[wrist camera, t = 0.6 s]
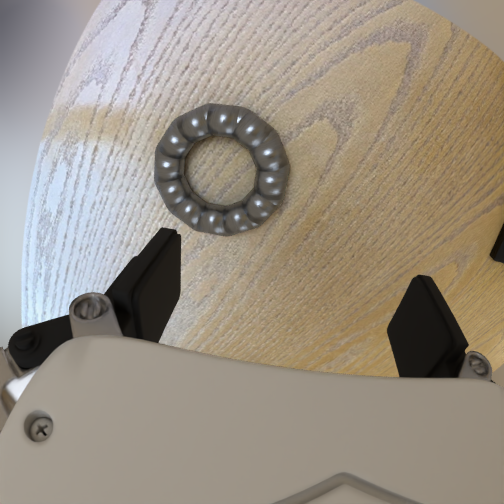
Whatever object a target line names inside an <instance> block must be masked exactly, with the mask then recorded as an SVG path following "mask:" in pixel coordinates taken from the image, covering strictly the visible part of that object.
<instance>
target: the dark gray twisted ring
mask: <svg viewBox="0 0 504 504" xmlns="http://www.w3.org/2000/svg"><path fill="white" fill-rule="evenodd" d="M212 135H214V136H222V137H229V138H233V139H235V140H236V141H237V142H238V143H240V144H241V145H242V146H244V147H245V148H246V149H248V150H249V151H250V154H251V156H252V159H253V161H254V164H255V166H256V169H257V171H256V177H255V184H254V188H253V189H252V190H251V191H250V192H249V194H248V195H247V196H246V197H245V198H244V199H243V201H240V202H237V203H234V204H231V205H228V206H221V205H215V204H209V203H206V202H205V201H204V200H202V199H201V198H200V197H198V196H197V195H196V194H194V193H193V192H192V191H191V189H190V187H189V185H188V183H187V180H186V178H185V176H184V165H185V157H186V155H187V154H188V152H189V151H190V149H191V148H192V147H193V145H194V144H195V143H196V142H198V141H200V140H203V139H205V138H207V137H210V136H212ZM289 171H290V164H289V161H288V158H287V156H286V153H285V150H284V148H283V145H282V143H281V140H280V137H279V135H278V133H277V132H276V130H275V129H274V128H272V127H271V126H270V125H269V124H267V123H266V122H265V121H264V120H262V119H261V118H260V117H258V116H257V115H256V114H255V113H253V112H252V111H251V110H249V109H247V108H245V107H239V106H231V105H222V104H213V103H209V104H205V105H203V106H200V107H198V108H196V109H194V110H192V111H190V112H188V113H185V114H183V115H181V116H179V117H177V118H176V119H175V120H174V121H173V122H172V123H171V125H170V126H169V128H168V129H167V131H166V132H165V134H164V135H163V137H162V139H161V140H160V142H159V143H158V145H157V147H156V150H155V168H154V181H155V185H156V187H157V189H158V191H159V193H160V195H161V197H162V199H163V201H164V203H165V205H166V207H167V209H168V210H169V211H170V212H171V213H172V214H173V215H175V216H176V217H177V218H179V219H180V220H181V221H183V222H184V223H185V224H187V225H188V226H189V227H191V228H192V229H194V230H195V231H199V232H204V233H210V234H215V235H221V236H232V235H235V234H238V233H242V232H245V231H248V230H251V229H255V228H258V227H259V226H261V225H262V224H263V223H264V222H265V221H266V220H267V219H268V218H269V217H270V215H271V214H272V213H273V212H274V211H275V210H276V209H277V208H278V207H279V206H280V205H281V204H282V202H283V200H284V196H285V191H286V186H287V181H288V176H289Z"/></svg>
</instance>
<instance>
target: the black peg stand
mask: <svg viewBox="0 0 504 504" xmlns="http://www.w3.org/2000/svg"><path fill="white" fill-rule="evenodd" d="M490 256H491V258H492V259H493V260H495V261H498V262H501V263H504V224H503V227H502V229H501V231H500V234H499V236H498V238H497V240H496V242H495V245H494V247H493V249H492V251H491V253H490Z"/></svg>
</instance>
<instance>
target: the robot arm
mask: <svg viewBox="0 0 504 504" xmlns="http://www.w3.org/2000/svg"><path fill="white" fill-rule="evenodd" d="M180 291H181V235H180V234H177V231H176V230H174V229H169V228H163V227H162V228H160V230H159V231H158V232H157V233H156V234H155V236H154V237H153V238H152V239H151V240H150V242H149V243H148V244H147V245H146V246H145V248H144V249H143V250H142V251H141V252H140V254H139V255H138V256H135V257H133V258H132V259H131V261H130V262H129V263H128V264H127V266H126V267H125V268H124V269H123V271H122V272H121V273H120V274H119V276H118V277H117V278H116V279H115V281H114V282H113V283H112V284H111V286H110V287H109V288H108V290H107V291H106V292H105V294H101V293H95V292H91V293H85V294H82V295H80V296H78V297H77V298H75V299H74V300H73V301H72V302H71V304H70V307H69V315H65V316H62V317H59V318H55V319H52V320H48V321H45V322H42V323H38V324H35V325H31V326H28V327H24V328H22V329H20V330H18V331H17V332H15V333H14V334H13V336H12V337H11V338H10V341H9V344H8V348H6V349H5V350H4V349H3V347H0V504H504V388H503V387H502V386H500V385H498V384H496V383H495V382H493V381H492V380H491V376H492V367H491V365H490V363H489V361H488V360H487V358H486V357H485V356H483V355H482V354H481V353H479V352H476V351H470V352H468V353H467V354H466V353H465V349H466V348H467V347H468V345H469V344H468V342H467V340H466V338H465V336H464V334H463V332H462V330H461V329H460V327H459V325H458V323H457V321H456V319H455V317H454V315H453V314H452V312H451V310H450V308H449V306H448V305H447V303H446V301H445V299H444V298H443V296H442V294H441V292H440V291H439V289H438V287H437V286H436V284H435V282H434V281H433V279H432V278H431V277H430V276H425V275H417V276H416V277H414V278H413V279H412V280H411V282H410V285H409V287H408V289H407V291H406V293H405V295H404V297H403V299H402V301H401V303H400V305H399V306H398V308H397V310H396V312H395V314H394V316H393V318H392V320H391V321H390V323H389V325H388V328H387V334H388V337H389V341H390V344H391V347H392V351H393V354H394V358H395V362H396V365H397V369H398V373H399V377H382V376H365V375H352V374H340V373H329V372H320V371H311V370H303V369H295V368H287V367H280V366H273V365H267V364H260V363H254V362H248V361H242V360H237V359H231V358H226V357H221V356H216V355H211V354H206V353H201V352H196V351H192V350H187V349H183V348H179V347H174V346H169V345H164V344H160V343H158V342H159V340H160V338H161V336H162V333H163V331H164V329H165V327H166V325H167V323H168V321H169V319H170V316H171V314H172V312H173V310H174V308H175V306H176V304H177V302H178V300H179V297H180Z"/></svg>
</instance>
